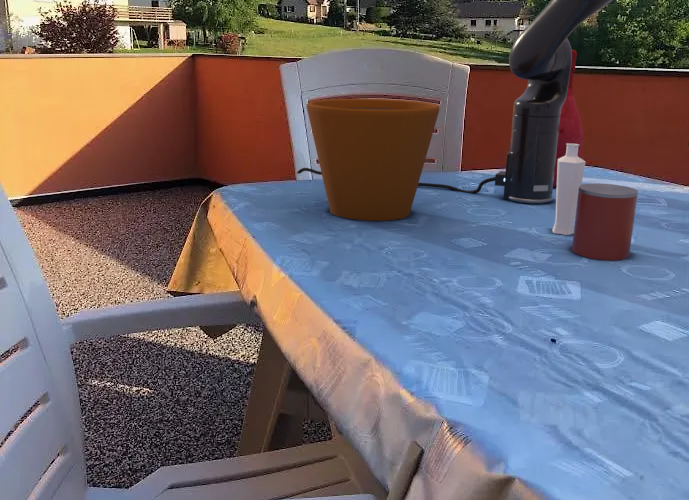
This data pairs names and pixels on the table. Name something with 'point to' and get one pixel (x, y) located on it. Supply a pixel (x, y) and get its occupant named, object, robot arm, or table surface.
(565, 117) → the wine bottle
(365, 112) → the flower pot
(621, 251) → the tin can
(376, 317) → the table surface
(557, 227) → the perfume bottle
